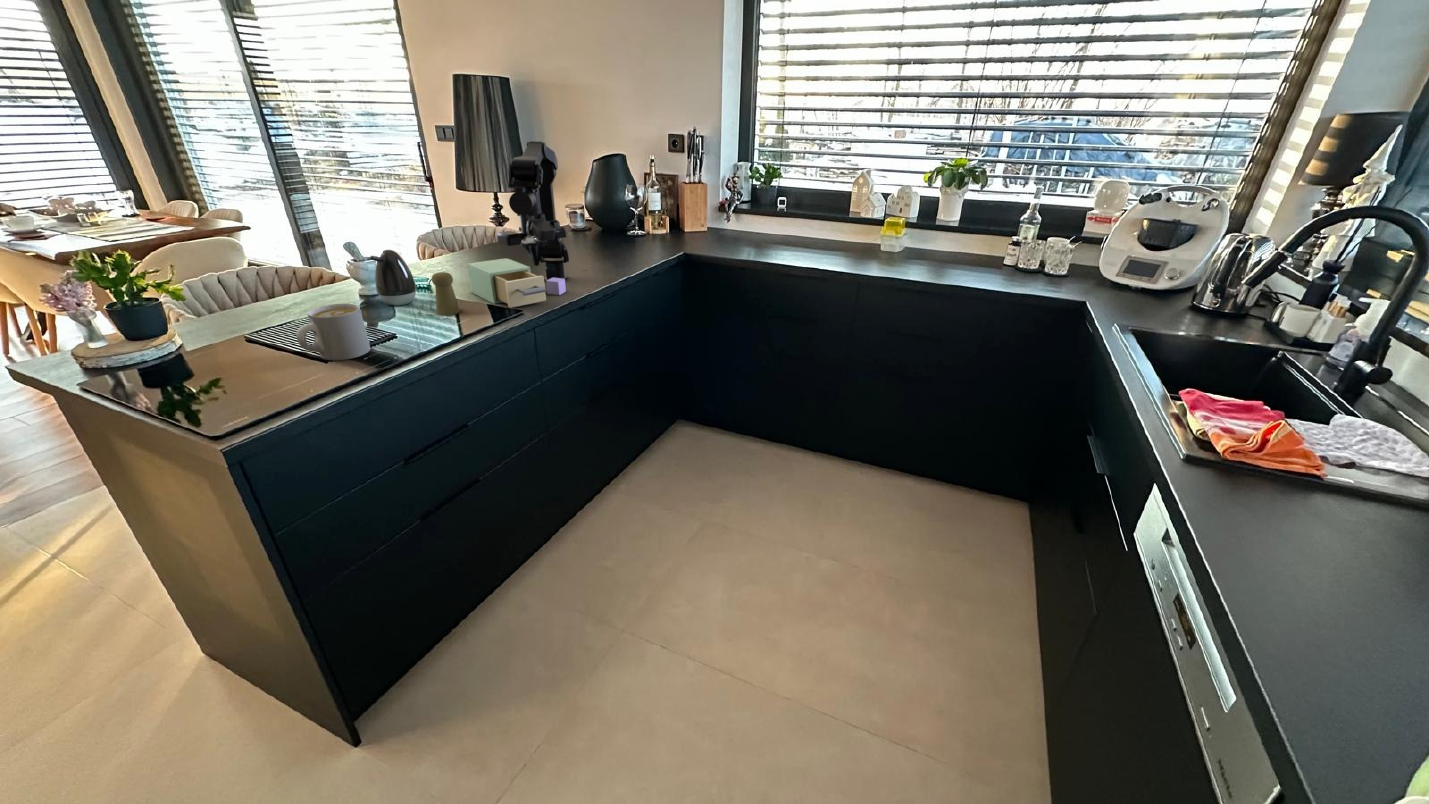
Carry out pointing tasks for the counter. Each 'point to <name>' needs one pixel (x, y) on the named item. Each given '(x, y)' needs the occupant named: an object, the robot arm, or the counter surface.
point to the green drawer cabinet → (491, 276)
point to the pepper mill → (445, 294)
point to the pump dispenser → (393, 279)
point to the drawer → (519, 288)
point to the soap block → (556, 286)
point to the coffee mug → (335, 332)
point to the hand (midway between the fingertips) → (536, 265)
